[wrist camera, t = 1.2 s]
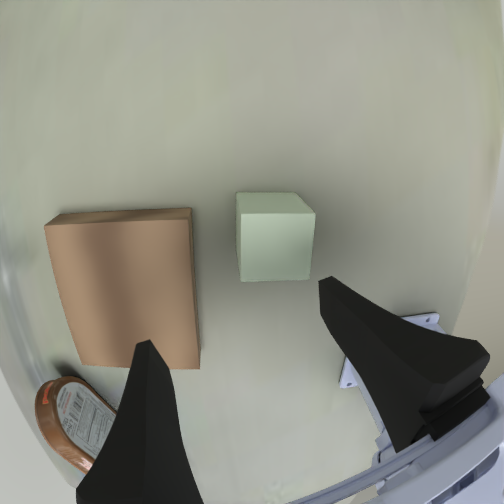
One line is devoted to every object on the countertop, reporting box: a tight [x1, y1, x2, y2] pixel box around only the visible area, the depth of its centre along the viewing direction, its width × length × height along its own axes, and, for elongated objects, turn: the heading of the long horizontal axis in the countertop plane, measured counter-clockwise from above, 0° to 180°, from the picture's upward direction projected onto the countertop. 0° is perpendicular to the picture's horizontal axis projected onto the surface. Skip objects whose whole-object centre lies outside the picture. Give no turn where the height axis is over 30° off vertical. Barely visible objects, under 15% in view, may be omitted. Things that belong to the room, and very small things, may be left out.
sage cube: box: [236, 192, 316, 282], centre depth 20 cm, size 4×4×5 cm
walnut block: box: [44, 208, 201, 369], centre depth 22 cm, size 10×12×3 cm
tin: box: [35, 376, 117, 474], centre depth 25 cm, size 15×3×8 cm, turn 24°
